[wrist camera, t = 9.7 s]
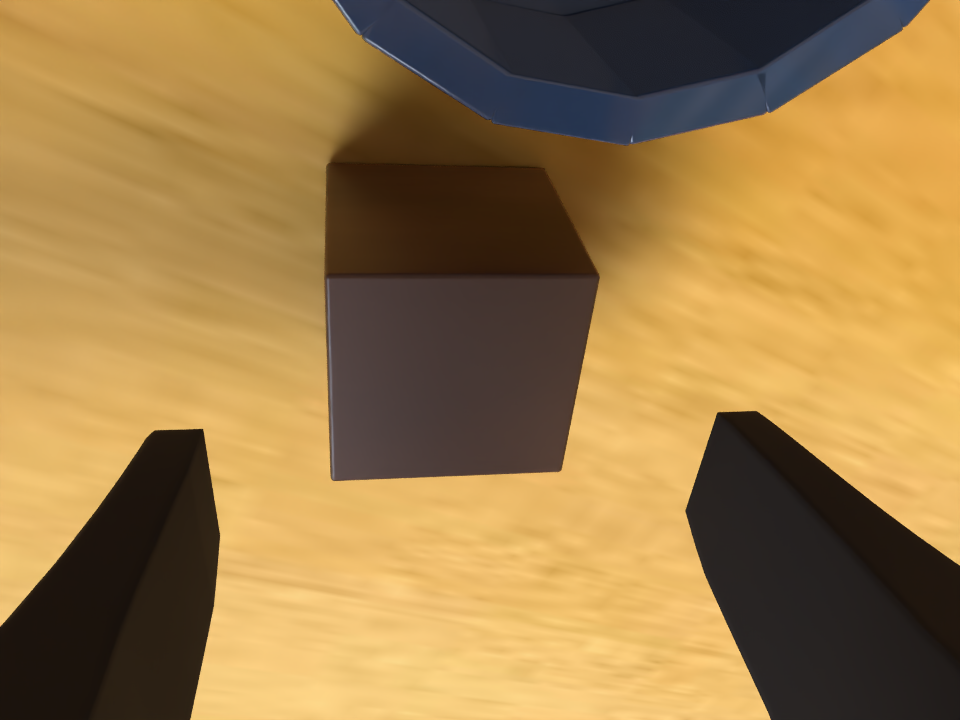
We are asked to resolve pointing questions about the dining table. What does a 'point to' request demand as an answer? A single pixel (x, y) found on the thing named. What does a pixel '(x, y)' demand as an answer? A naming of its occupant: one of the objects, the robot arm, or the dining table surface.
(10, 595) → the dining table surface
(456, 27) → the grey open cylinder
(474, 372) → the walnut block
